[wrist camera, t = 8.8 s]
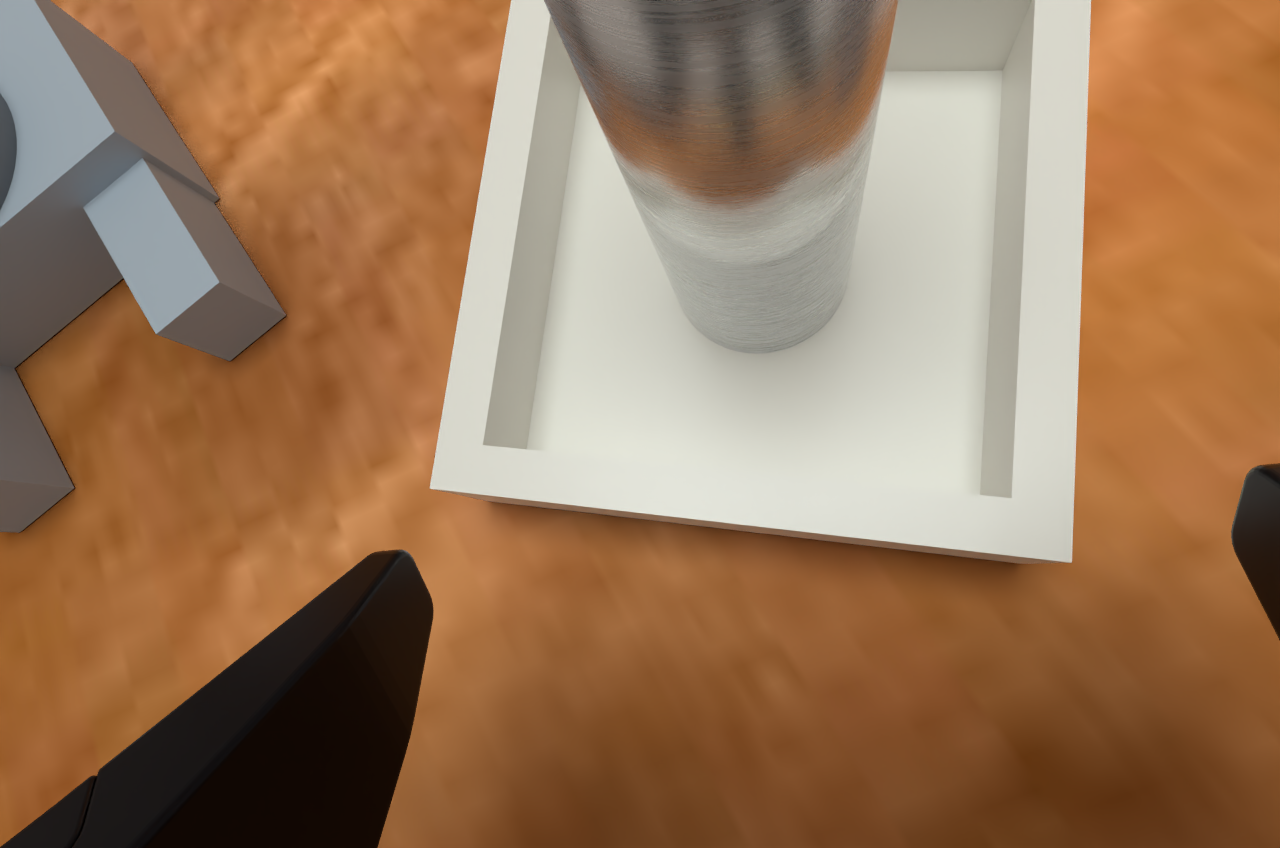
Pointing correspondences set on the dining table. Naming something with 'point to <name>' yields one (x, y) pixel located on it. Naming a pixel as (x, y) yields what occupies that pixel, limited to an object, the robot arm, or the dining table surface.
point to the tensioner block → (98, 226)
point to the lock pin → (740, 146)
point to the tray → (826, 362)
